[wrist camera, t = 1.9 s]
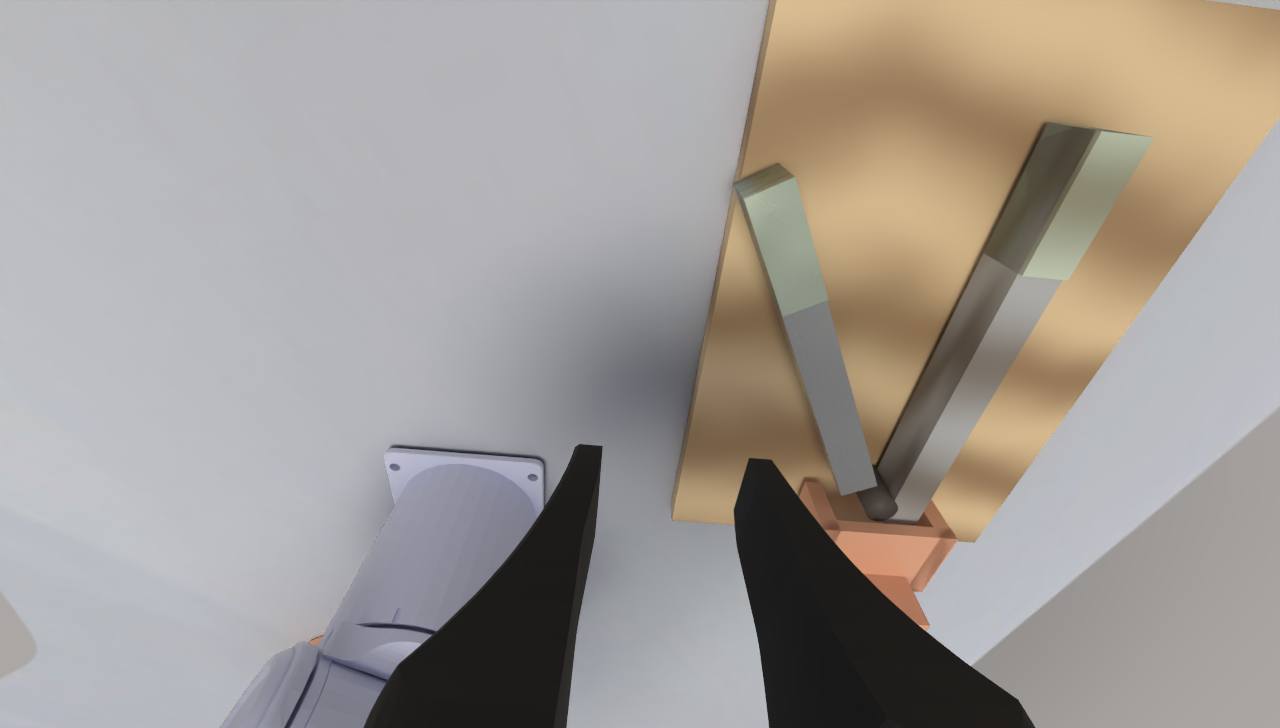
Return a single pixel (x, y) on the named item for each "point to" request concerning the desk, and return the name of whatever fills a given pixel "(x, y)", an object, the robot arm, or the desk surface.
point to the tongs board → (966, 228)
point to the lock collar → (888, 549)
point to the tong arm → (806, 320)
